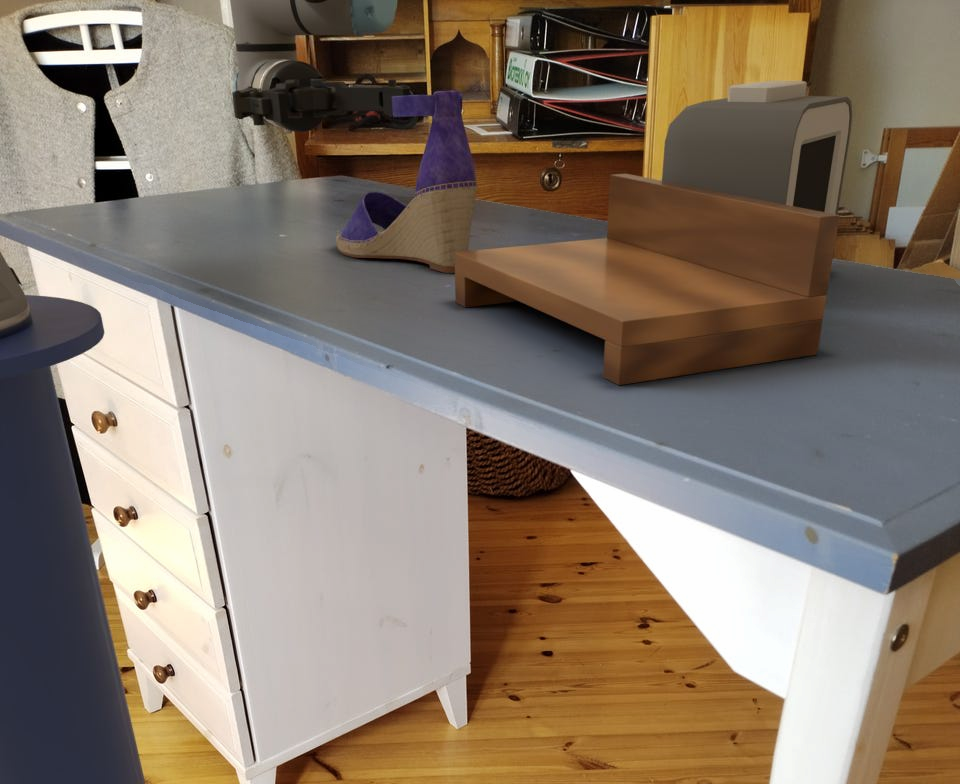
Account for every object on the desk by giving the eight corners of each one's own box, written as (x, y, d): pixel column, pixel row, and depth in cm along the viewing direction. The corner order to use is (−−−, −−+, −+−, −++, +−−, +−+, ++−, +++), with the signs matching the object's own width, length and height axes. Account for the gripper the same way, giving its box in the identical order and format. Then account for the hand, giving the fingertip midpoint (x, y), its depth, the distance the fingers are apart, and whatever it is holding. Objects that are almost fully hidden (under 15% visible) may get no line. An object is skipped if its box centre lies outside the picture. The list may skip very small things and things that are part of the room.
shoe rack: (618, 385, 64) (628, 234, 60) (455, 302, 85) (452, 185, 80) (817, 354, 70) (840, 215, 65) (619, 284, 90) (626, 173, 86)
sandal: (392, 240, 110) (384, 83, 103) (490, 270, 96) (489, 90, 88) (324, 248, 107) (310, 86, 99) (415, 281, 92) (407, 94, 85)
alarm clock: (771, 306, 82) (800, 88, 74) (642, 291, 87) (657, 86, 79) (828, 271, 94) (858, 80, 86) (712, 260, 99) (731, 78, 91)
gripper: (389, 125, 129) (456, 139, 113) (192, 135, 120) (233, 151, 104) (386, 57, 125) (454, 61, 109) (182, 62, 116) (222, 67, 100)
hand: (346, 105), depth 106 cm, fingers open, 13 cm apart
